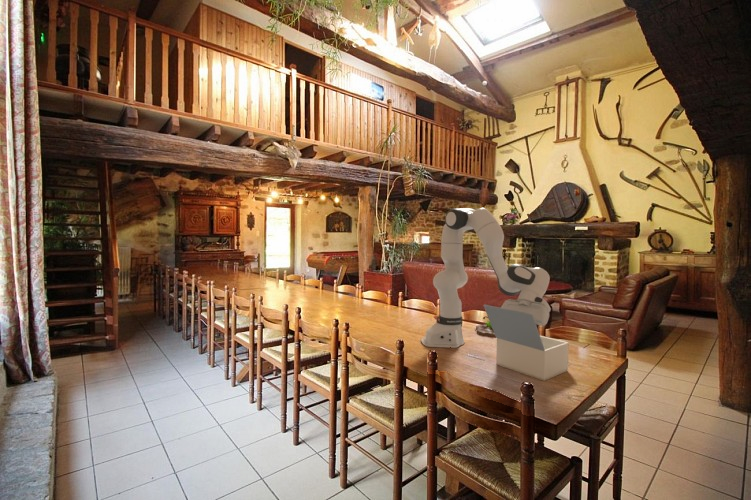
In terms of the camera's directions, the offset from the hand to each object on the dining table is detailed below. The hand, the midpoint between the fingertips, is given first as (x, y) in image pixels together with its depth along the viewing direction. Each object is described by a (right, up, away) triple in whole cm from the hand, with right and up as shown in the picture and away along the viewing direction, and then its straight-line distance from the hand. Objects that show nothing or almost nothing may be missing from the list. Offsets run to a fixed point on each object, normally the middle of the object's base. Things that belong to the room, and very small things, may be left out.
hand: (515, 329), depth 145 cm
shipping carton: (+10, -19, +9) cm, 23 cm away
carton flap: (-1, +1, 0) cm, 2 cm away
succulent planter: (+12, -17, +63) cm, 66 cm away
